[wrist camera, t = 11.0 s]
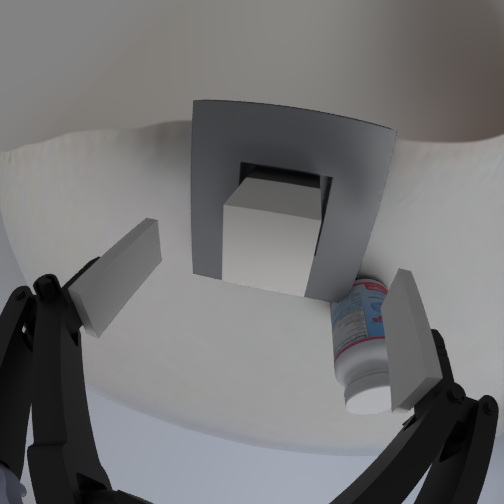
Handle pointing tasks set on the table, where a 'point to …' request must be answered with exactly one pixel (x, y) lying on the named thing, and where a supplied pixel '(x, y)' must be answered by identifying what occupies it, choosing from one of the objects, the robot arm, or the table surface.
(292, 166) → the socket plate
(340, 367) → the pill bottle
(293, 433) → the table surface
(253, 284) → the plug
